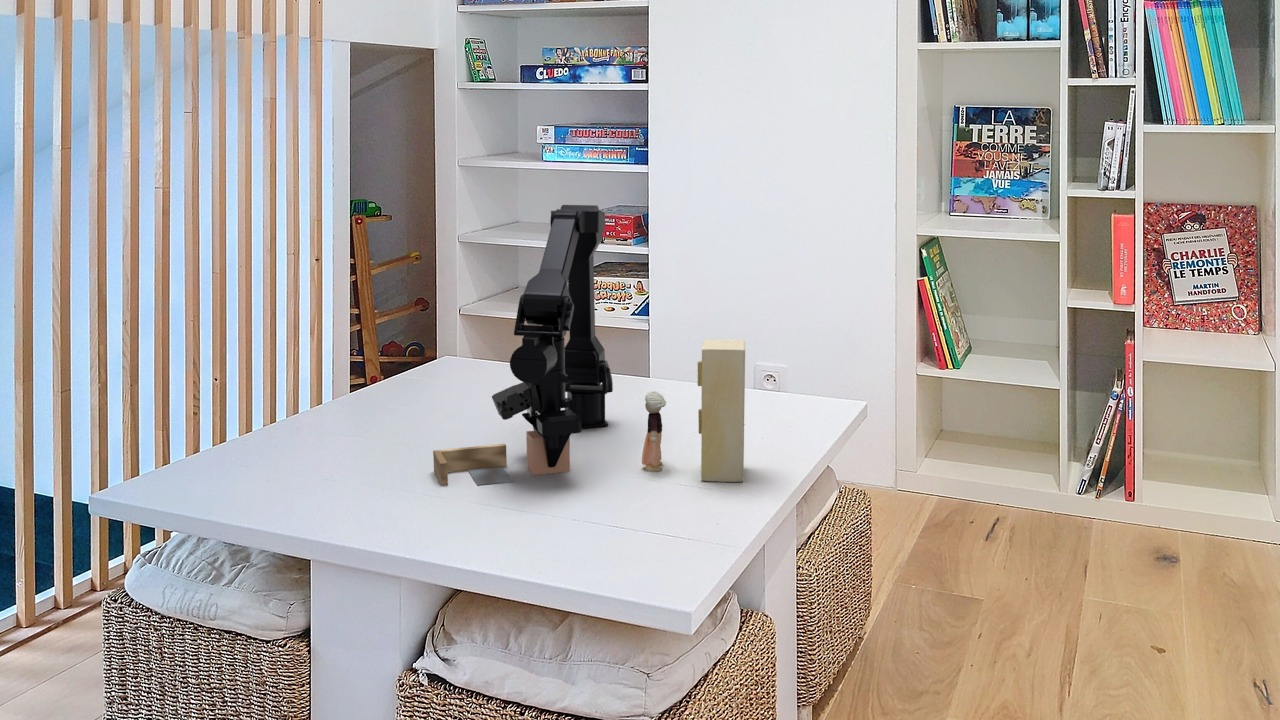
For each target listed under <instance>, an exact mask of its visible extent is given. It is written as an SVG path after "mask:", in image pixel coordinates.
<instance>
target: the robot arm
mask: <svg viewBox="0 0 1280 720" xmlns="http://www.w3.org/2000/svg"><path fill="white" fill-rule="evenodd" d="M599 208H600V207H599V206H598V205H597V204H595V205H592V204H589V205H588V204H586V205H585V204H562V205H561V206H560V209H558V208H557V209H556V210H550V221H549V222H550V229H549V230H550V231H549V234H548V238H547V240H546V241H547V242H546V245H545V249H544V252H543V257H542V260H541V264H540V266H539V267H540V268H539V271H538V273H537V274H535V275H534V276H533V277H532V278H530V279H529V280H528V281H527V284H526V286H525V288H524V290H523V294H521V295H520V297H519V302H518V307H517V311H516V312H517V313H516V320H515V324H514V331H513V335H514V336H518V337H522V338H521V339H522V340H521V345H520V346H519V347H517V348H516V349H515V350H514V351H513V352H512V354H511V356H510V359H509V367H510V371H511V373H512V374H513V376H514V377H515V378H516V379H517V380H519V381H521V382H520V383H518V384H514V385H512V386H509V387H507V388H505V389H502V390H500V391H498V392H496V393H494V394H492V396H491V399H492V402H493V404H494V406H495V409H496V411H497V414H498V415H499V417H501V419H502V420H503V421H505V420H509V419H511V418H513V417H514V416H515V415H517V414H518V415H519V414H520V413H522V412H523V413H522V414H521V415H522V417H523V418H524V420H525V421H527V422H528V423H529V424H530V425H531V426H532V430H533V431H536V432H537V433H538V434H540V435H541V436H542V437H543V442H544V447H545V453H546V458H547V463H548V467H555V466H556V464H557V462H558V460H559V458H560V455H561V453H562V451H563V449H564V447H565V445H566V443H567V441H568V439H569V437H570V436H571V435H573V434H580V433H582V432H583V429H589V428H599V427H609V422H608V421H606V395H607V394H608V393H612V392H614V390H613V389H614V388H613V387H614V386H613V377H612V372H611V368H610V365H609V362H608V360H606V354H605V351H606V350H605V348H604V347H603V345H602V343H601V341H600V340H599V339H598V336H596V320H595V319H596V313H595V310H596V309H595V305H596V304H595V273H594V272H595V265H594V264H595V262H594V260H595V259H594V255H595V252H596V251H597V249H598V248H599V245H600V244H601V242H602V240H603V233H604V232H605V229H606V215H605V212H604V211H602V210H600V209H599ZM525 323H526V324H525ZM567 332H569V339H568V341H567V343H566V344H565V336H567V335H566V334H567ZM566 394H567V395H566ZM566 396H567V397H566ZM525 411H526V412H525Z"/></svg>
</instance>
